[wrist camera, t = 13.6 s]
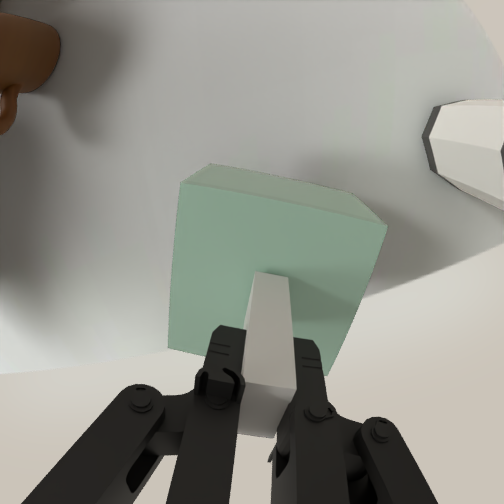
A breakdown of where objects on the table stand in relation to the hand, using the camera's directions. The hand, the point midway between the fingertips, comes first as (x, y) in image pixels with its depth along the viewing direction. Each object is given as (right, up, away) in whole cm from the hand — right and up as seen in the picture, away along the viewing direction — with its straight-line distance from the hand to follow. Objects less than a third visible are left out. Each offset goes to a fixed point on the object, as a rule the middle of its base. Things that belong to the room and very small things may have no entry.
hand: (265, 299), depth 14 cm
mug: (-22, +20, +7) cm, 30 cm away
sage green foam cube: (0, +3, +6) cm, 7 cm away
